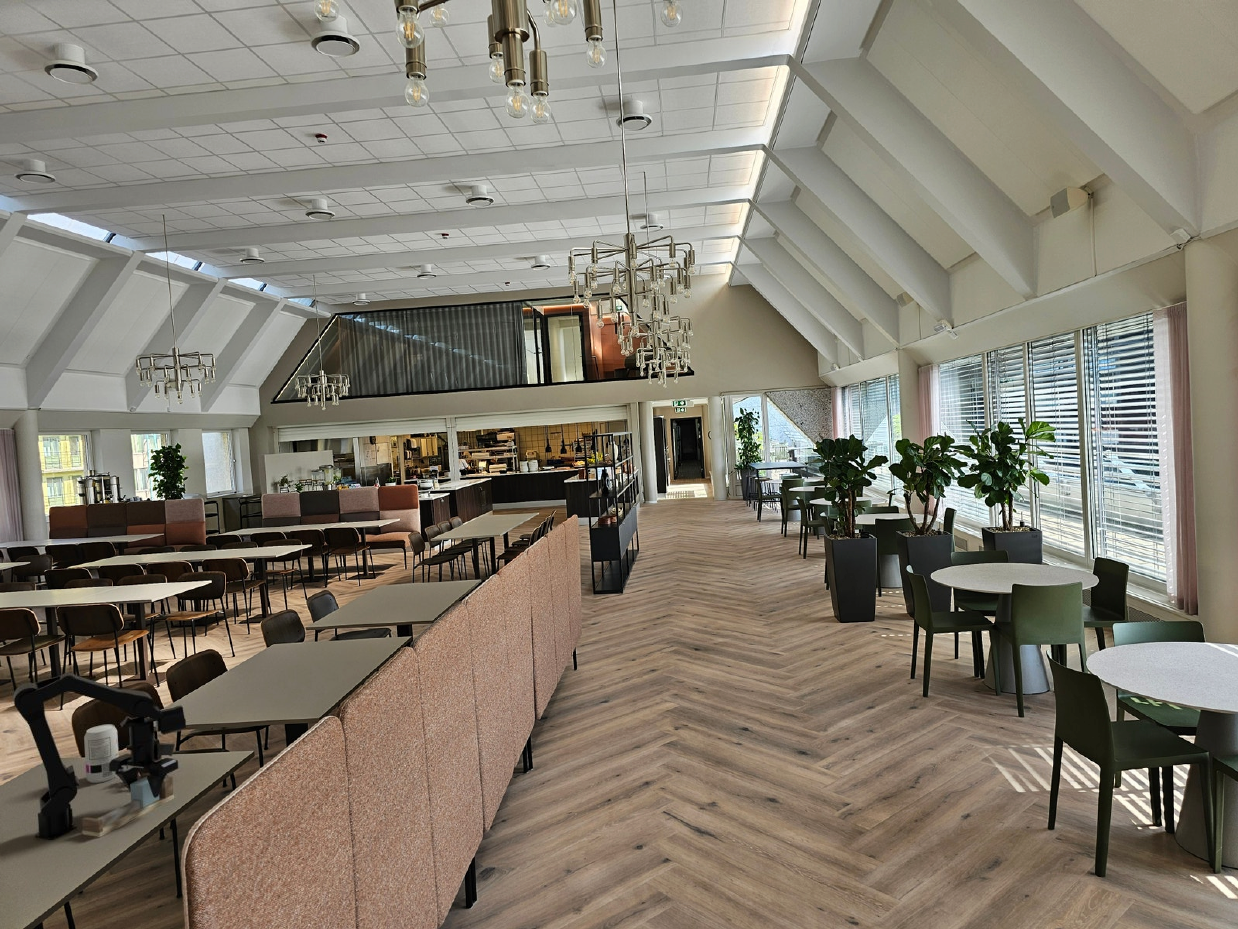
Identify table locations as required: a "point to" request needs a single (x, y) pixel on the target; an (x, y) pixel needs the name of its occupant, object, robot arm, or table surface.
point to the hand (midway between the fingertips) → (145, 795)
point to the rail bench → (130, 817)
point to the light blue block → (142, 792)
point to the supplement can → (100, 752)
